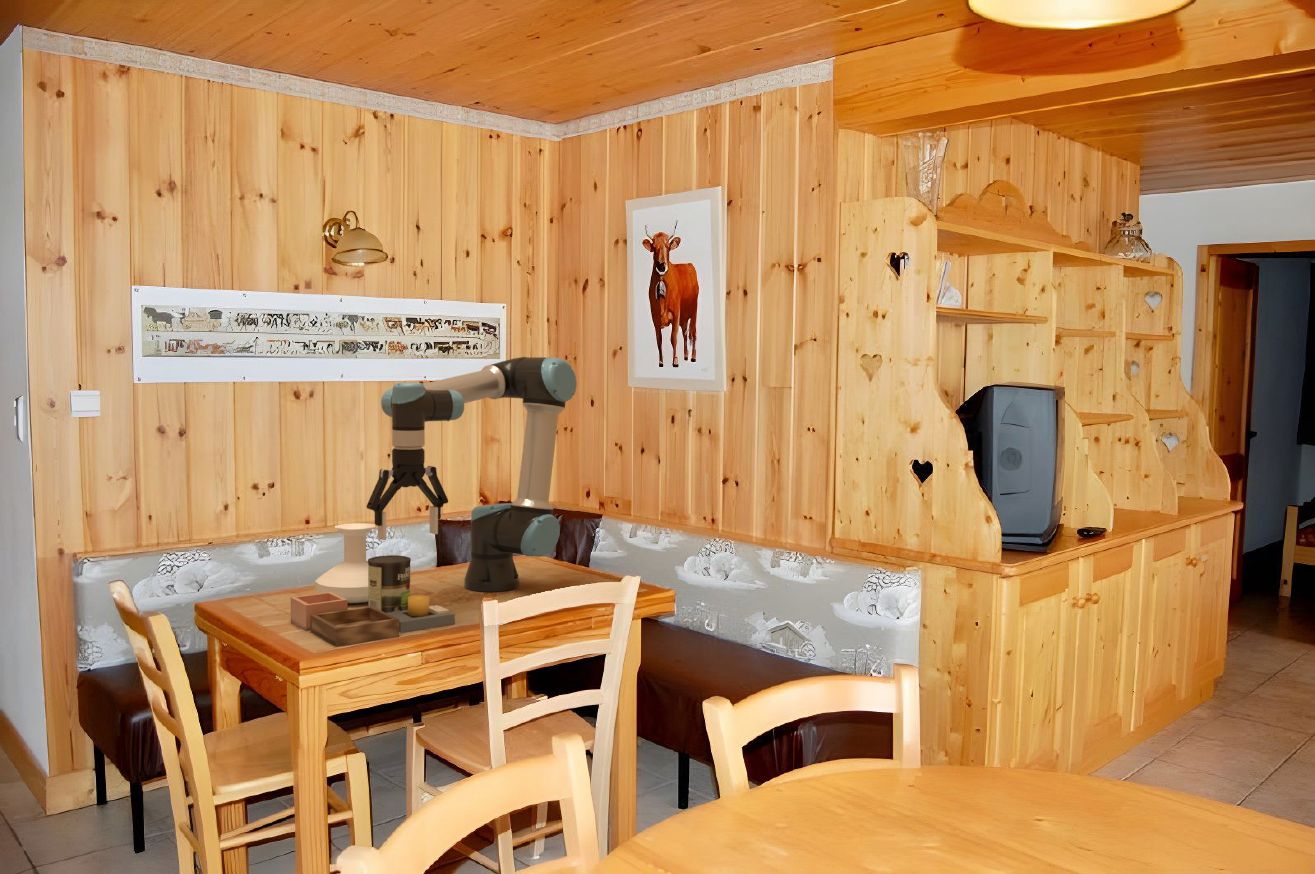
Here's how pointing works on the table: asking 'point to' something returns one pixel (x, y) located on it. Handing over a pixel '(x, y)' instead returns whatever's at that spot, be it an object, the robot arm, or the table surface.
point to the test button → (418, 605)
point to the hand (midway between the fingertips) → (408, 536)
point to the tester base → (424, 619)
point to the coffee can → (389, 582)
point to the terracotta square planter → (314, 607)
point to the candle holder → (349, 566)
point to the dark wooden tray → (354, 626)
